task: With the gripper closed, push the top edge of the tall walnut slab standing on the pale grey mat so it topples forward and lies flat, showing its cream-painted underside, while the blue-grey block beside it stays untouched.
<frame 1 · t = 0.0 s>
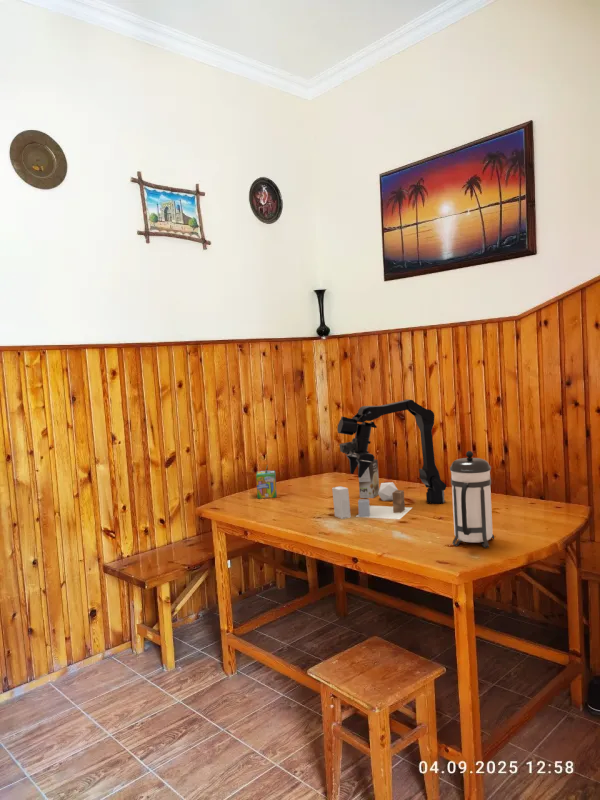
hand: (355, 475, 241), 15 cm above the table, tool pointing down, fingers open, 9 cm apart
mat: (384, 513, 239), on the table
walnut block: (399, 511, 239), point 1 cm above the table, touching mat
skincare box: (342, 518, 236), on the table
chalk box: (267, 496, 284), on the table
die: (388, 501, 260), on the table
blue-grey block: (364, 515, 236), point 1 cm above the table, touching mat
coffee box: (369, 496, 271), on the table
coffee press: (474, 544, 195), on the table
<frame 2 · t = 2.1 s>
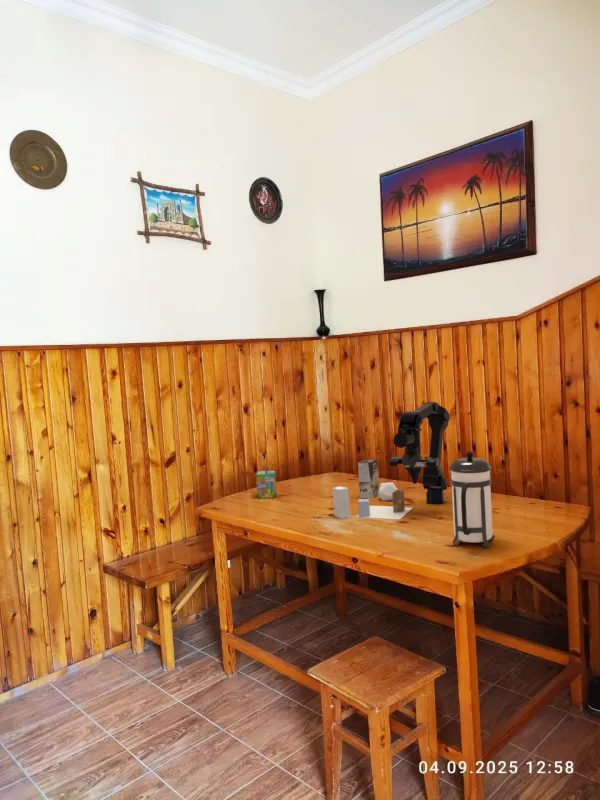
hand: (414, 483, 235), 12 cm above the table, tool pointing down, fingers closed
nothing on the table moved.
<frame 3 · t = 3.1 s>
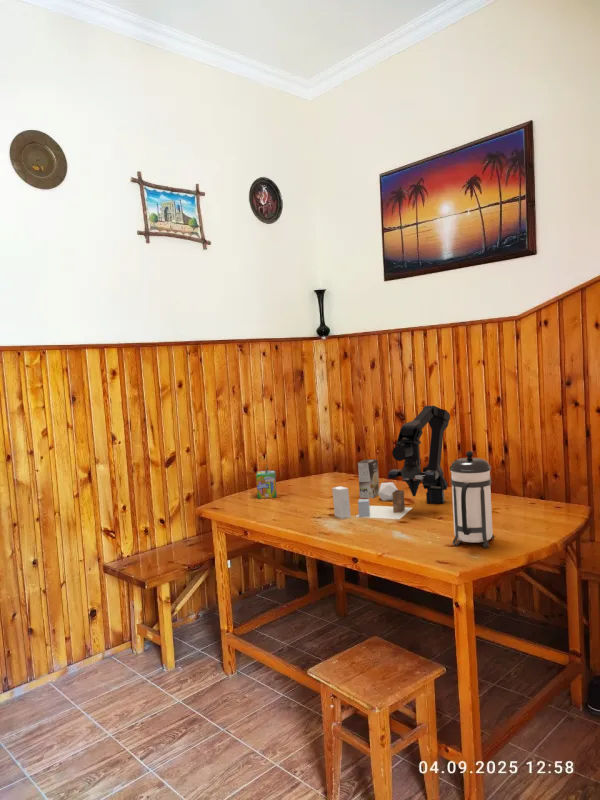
hand: (414, 496, 235), 7 cm above the table, tool pointing down, fingers closed
nothing on the table moved.
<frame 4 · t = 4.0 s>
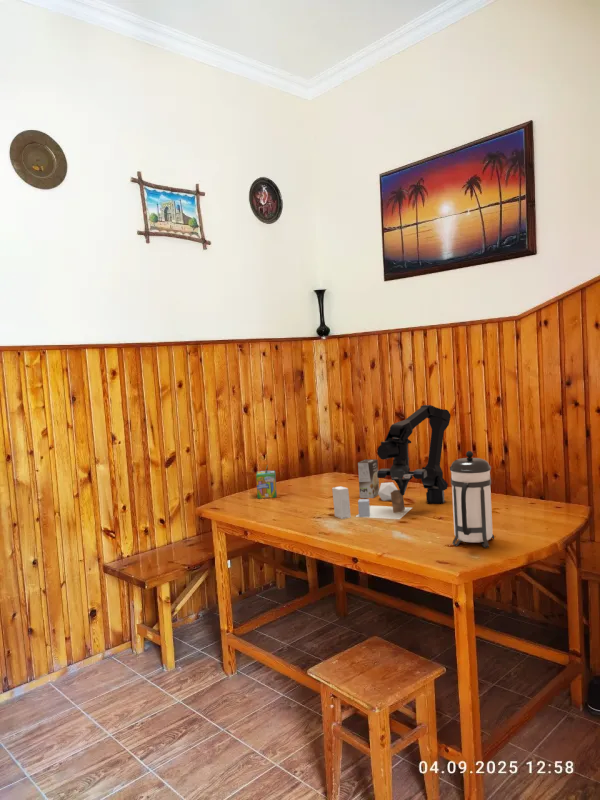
hand: (403, 495, 237), 7 cm above the table, tool pointing down, fingers closed
walnut block: (399, 511, 239), point 1 cm above the table, tilted 5°, touching gripper, mat
everything else where it was.
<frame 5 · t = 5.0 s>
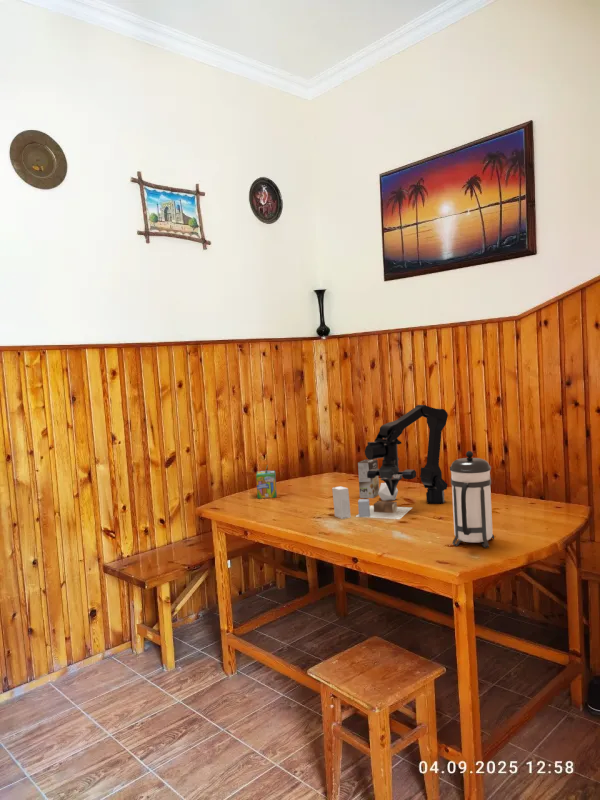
hand: (392, 495, 239), 7 cm above the table, tool pointing down, fingers closed
walnut block: (395, 507, 239), point 2 cm above the table, tilted 90°, touching mat
everything else where it was.
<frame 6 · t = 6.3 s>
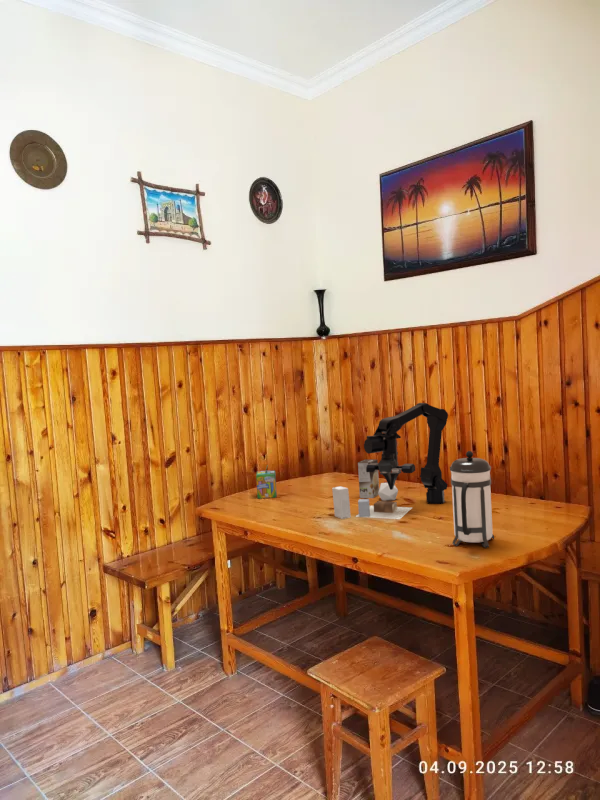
hand: (391, 489, 239), 9 cm above the table, tool pointing down, fingers closed
nothing on the table moved.
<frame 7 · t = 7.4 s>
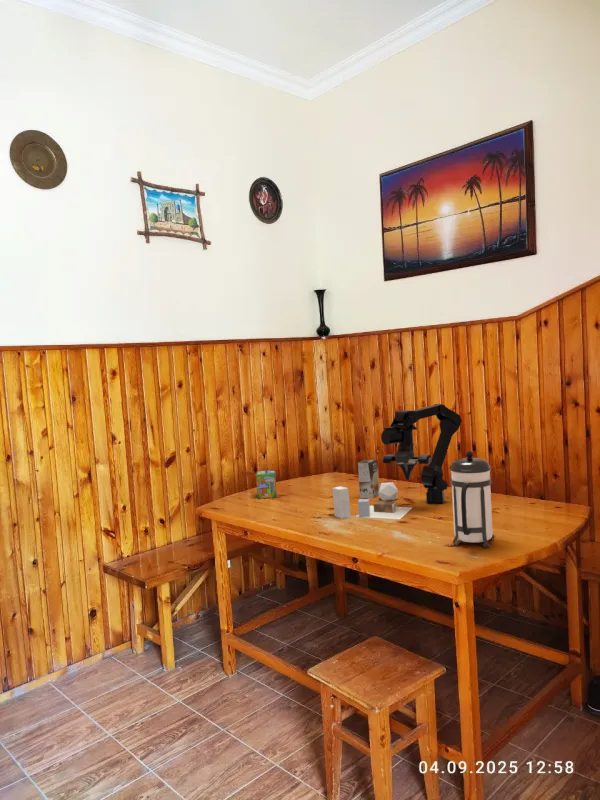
hand: (408, 480, 242), 12 cm above the table, tool pointing down, fingers closed
nothing on the table moved.
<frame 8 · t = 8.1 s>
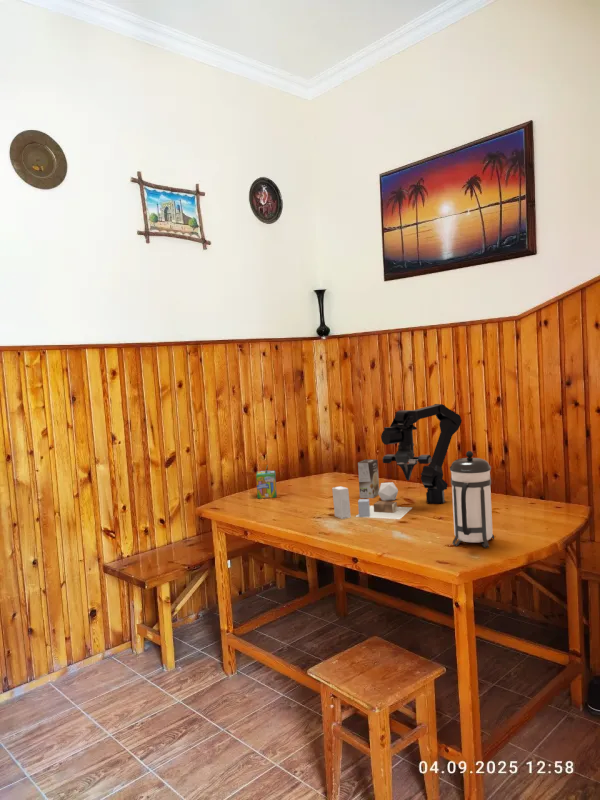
hand: (408, 480, 242), 12 cm above the table, tool pointing down, fingers closed
nothing on the table moved.
at the end: walnut block tilted 90°; walnut block inside the target area (4.9 cm from its centre), point 2.2 cm above the table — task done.
